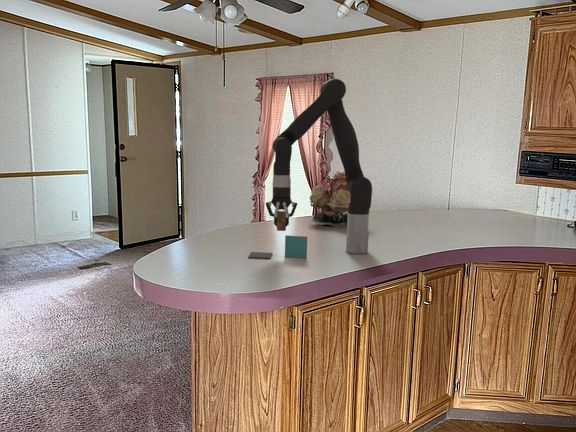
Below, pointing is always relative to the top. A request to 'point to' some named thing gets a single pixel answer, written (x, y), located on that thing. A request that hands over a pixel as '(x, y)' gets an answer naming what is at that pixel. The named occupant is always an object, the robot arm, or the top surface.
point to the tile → (296, 246)
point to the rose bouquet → (332, 201)
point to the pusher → (281, 221)
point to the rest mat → (260, 255)
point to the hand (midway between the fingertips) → (281, 225)
